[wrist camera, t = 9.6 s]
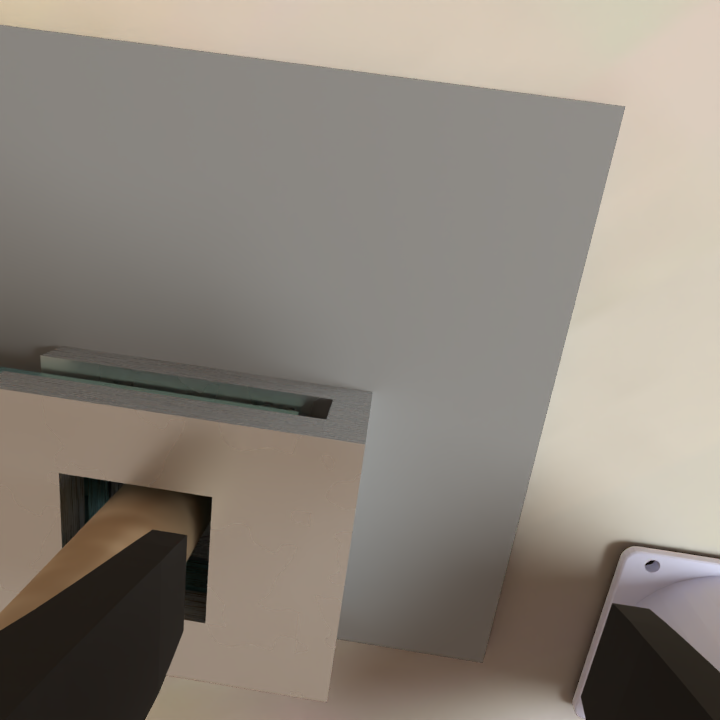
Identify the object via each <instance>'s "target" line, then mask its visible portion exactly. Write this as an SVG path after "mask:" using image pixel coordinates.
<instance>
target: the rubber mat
mask: <svg viewBox="0 0 720 720" xmlns="http://www.w3.org/2000/svg"><path fill="white" fill-rule="evenodd" d="M624 110H625V106H618V105H610V104H603V103H595V102H587V101H580V100H572V99H564V98H557V97H549V96H541V95H534V94H526V93H518V92H511V91H503V90H495V89H488V88H480V87H472V86H465V85H457V84H449V83H442V82H434V81H426V80H418V79H411V78H403V77H395V76H388V75H380V74H372V73H365V72H357V71H349V70H342V69H334V68H326V67H319V66H311V65H303V64H296V63H288V62H280V61H273V60H265V59H257V58H250V57H242V56H234V55H227V54H219V53H211V52H204V51H196V50H188V49H181V48H173V47H165V46H158V45H150V44H142V43H135V42H127V41H119V40H111V39H104V38H96V37H88V36H81V35H73V34H65V33H58V32H50V31H42V30H35V29H27V28H19V27H12V26H4V25H0V367H6V368H13V369H19V370H26V371H33V372H39V373H41V358H40V355H43V354H45V353H47V352H50V351H52V350H54V349H57V348H59V347H61V346H68V347H75V348H82V349H89V350H95V351H102V352H109V353H115V354H122V355H129V356H135V357H142V358H149V359H156V360H162V361H169V362H176V363H182V364H189V365H196V366H202V367H209V368H216V369H223V370H229V371H236V372H243V373H249V374H256V375H263V376H269V377H276V378H283V379H290V380H296V381H303V382H310V383H316V384H323V385H330V386H336V387H343V388H350V389H357V390H363V391H370V392H373V394H372V401H371V408H370V415H369V422H368V429H367V436H366V443H365V450H364V457H363V464H362V470H361V477H360V484H359V491H358V497H357V504H356V511H355V518H354V524H353V531H352V538H351V545H350V551H349V558H348V565H347V572H346V578H345V585H344V592H343V599H342V605H341V612H340V619H339V626H338V632H337V639H340V640H346V641H352V642H358V643H364V644H370V645H377V646H383V647H389V648H395V649H401V650H407V651H413V652H419V653H425V654H431V655H437V656H444V657H450V658H456V659H462V660H468V661H474V662H480V663H483V659H484V655H485V652H486V648H487V644H488V640H489V636H490V632H491V628H492V624H493V620H494V616H495V613H496V609H497V605H498V601H499V597H500V593H501V589H502V585H503V581H504V577H505V574H506V570H507V566H508V562H509V558H510V554H511V550H512V546H513V542H514V538H515V535H516V531H517V527H518V523H519V519H520V515H521V511H522V507H523V503H524V499H525V496H526V492H527V488H528V484H529V480H530V476H531V472H532V468H533V464H534V461H535V457H536V453H537V449H538V445H539V441H540V437H541V433H542V429H543V425H544V422H545V418H546V414H547V410H548V406H549V402H550V398H551V394H552V390H553V386H554V383H555V379H556V375H557V371H558V367H559V363H560V359H561V355H562V351H563V347H564V344H565V340H566V336H567V332H568V328H569V324H570V320H571V316H572V312H573V309H574V305H575V301H576V297H577V293H578V289H579V285H580V281H581V277H582V273H583V270H584V266H585V262H586V258H587V254H588V250H589V246H590V242H591V238H592V234H593V231H594V227H595V223H596V219H597V215H598V211H599V207H600V203H601V199H602V195H603V192H604V188H605V184H606V180H607V176H608V172H609V168H610V164H611V160H612V157H613V153H614V149H615V145H616V141H617V137H618V133H619V129H620V125H621V121H622V118H623V114H624ZM210 529H211V521H210V523H209V524H208V526H207V528H206V529H205V531H204V533H203V535H204V536H210Z"/></svg>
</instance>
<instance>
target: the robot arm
mask: <svg viewBox="0 0 720 720" xmlns="http://www.w3.org/2000/svg"><path fill="white" fill-rule="evenodd" d="M186 556H187V535H184V534H177V533H171V532H165V531H159V530H151V531H150V532H148V533H147V534H145V535H144V536H142V537H141V538H139V539H138V540H136V541H135V542H133V543H132V544H130V545H129V546H127V547H126V548H124V549H123V550H122V551H120V552H119V553H117V554H116V555H114V556H113V557H111V558H110V559H108V560H107V561H106V562H104V563H103V564H101V565H100V566H98V567H97V568H95V569H94V570H92V571H91V572H90V573H88V574H87V575H85V576H84V577H82V578H81V579H79V580H78V581H76V582H75V583H73V584H72V585H70V586H69V587H67V588H66V589H64V590H63V591H61V592H60V593H58V594H57V595H55V596H54V597H52V598H51V599H49V600H48V601H46V602H45V603H43V604H42V605H40V606H39V607H37V608H36V609H34V610H33V611H31V612H29V613H28V614H26V615H25V616H23V617H21V618H20V619H18V620H16V621H15V622H13V623H12V624H10V625H8V626H7V627H5V628H3V629H2V630H0V720H145V718H146V716H147V715H148V713H149V711H150V709H151V707H152V705H153V703H154V701H155V699H156V697H157V695H158V693H159V691H160V689H161V686H162V684H163V681H164V679H165V676H166V674H167V672H168V669H169V667H170V664H171V662H172V659H173V657H174V654H175V652H176V649H177V647H178V644H179V641H180V639H181V636H182V634H183V631H184V607H185V582H186ZM650 560H655V561H654V562H653V563H652V564H650V565H645V564H646V563H647V562H648V561H650ZM572 705H573V708H574V711H575V713H576V715H577V716H579V717H580V718H583V719H586V720H720V559H717V558H710V557H704V556H697V555H691V554H685V553H678V552H672V551H665V550H659V549H652V548H646V547H640V546H632V547H629V548H627V549H626V550H624V551H623V552H622V554H621V556H620V559H619V562H618V565H617V568H616V571H615V574H614V577H613V580H612V583H611V586H610V589H609V592H608V595H607V598H606V601H605V604H604V607H603V610H602V613H601V616H600V619H599V622H598V625H597V628H596V631H595V634H594V637H593V640H592V643H591V646H590V649H589V652H588V655H587V658H586V661H585V665H584V668H583V671H582V674H581V677H580V680H579V683H578V686H577V689H576V692H575V695H574V698H573V701H572Z"/></svg>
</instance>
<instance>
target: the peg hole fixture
mask: <svg viewBox="0 0 720 720" xmlns="http://www.w3.org/2000/svg"><path fill="white" fill-rule="evenodd" d="M40 358H41V373H39V372H33V371H26V370H19V369H13V368H6V367H0V612H1V611H2V610H3V609H4V608H5V607H6V606H7V605H8V604H9V603H10V602H11V601H12V600H13V599H14V598H15V597H16V596H17V595H18V594H19V593H20V592H21V591H22V590H23V589H24V588H25V587H26V585H27V584H28V583H29V582H30V581H31V580H32V579H33V578H34V577H35V576H36V575H37V574H38V573H39V572H40V571H41V570H42V569H43V568H44V567H45V566H46V565H47V564H48V563H49V562H50V561H51V560H52V558H53V557H54V556H55V555H56V554H57V553H58V552H59V551H60V550H61V549H62V548H63V547H64V546H65V545H66V544H67V543H68V542H69V541H70V540H71V539H72V538H73V537H74V536H75V535H76V534H77V533H78V532H79V530H80V529H81V528H82V527H83V526H84V525H85V524H86V523H87V522H88V521H89V520H90V519H91V518H92V517H93V516H94V515H95V514H96V513H97V512H98V511H99V510H100V509H101V508H102V507H103V506H104V505H105V504H106V502H107V501H108V500H109V499H110V498H111V497H112V496H113V495H114V494H115V493H116V492H117V491H118V490H119V489H120V488H121V487H122V486H123V485H124V484H132V485H138V486H145V487H151V488H157V489H164V490H170V491H176V492H183V493H189V494H195V495H202V496H208V497H212V510H211V529H210V536H204V535H202V536H201V538H200V540H199V541H198V543H197V545H196V546H195V548H194V550H193V552H192V553H191V555H190V557H189V558H188V560H187V562H186V582H185V607H184V631H183V634H182V636H181V639H180V641H179V644H178V647H177V649H176V652H175V654H174V657H173V659H172V662H171V664H170V667H169V669H168V672H167V674H166V675H167V676H173V677H179V678H185V679H191V680H197V681H203V682H209V683H215V684H220V685H226V686H232V687H238V688H244V689H250V690H256V691H262V692H268V693H274V694H280V695H286V696H292V697H298V698H304V699H310V700H316V701H322V702H327V700H328V693H329V686H330V680H331V673H332V666H333V659H334V653H335V646H336V639H337V632H338V626H339V619H340V612H341V605H342V599H343V592H344V585H345V578H346V572H347V565H348V558H349V551H350V545H351V538H352V531H353V524H354V518H355V511H356V504H357V497H358V491H359V484H360V477H361V470H362V464H363V457H364V450H365V443H366V436H367V429H368V422H369V415H370V408H371V401H372V394H373V392H370V391H363V390H357V389H350V388H343V387H336V386H330V385H323V384H316V383H310V382H303V381H296V380H290V379H283V378H276V377H269V376H263V375H256V374H249V373H243V372H236V371H229V370H223V369H216V368H209V367H202V366H196V365H189V364H182V363H176V362H169V361H162V360H156V359H149V358H142V357H135V356H129V355H122V354H115V353H109V352H102V351H95V350H89V349H82V348H75V347H68V346H61V347H59V348H57V349H54V350H52V351H50V352H47V353H45V354H43V355H40Z"/></svg>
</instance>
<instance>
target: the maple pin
mask: <svg viewBox="0 0 720 720" xmlns="http://www.w3.org/2000/svg"><path fill="white" fill-rule="evenodd" d="M211 510H212V497H208V496H202V495H195V494H189V493H183V492H176V491H170V490H164V489H157V488H151V487H145V486H138V485H132V484H124V485H123V486H122V487H121V488H120V489H119V490H118V491H117V492H116V493H115V494H114V495H113V496H112V497H111V498H110V499H109V500H108V501H107V502H106V504H105V505H104V506H103V507H102V508H101V509H100V510H99V511H98V512H97V513H96V514H95V515H94V516H93V517H92V518H91V519H90V520H89V521H88V522H87V523H86V524H85V525H84V526H83V527H82V528H81V529H80V530H79V532H78V533H77V534H76V535H75V536H74V537H73V538H72V539H71V540H70V541H69V542H68V543H67V544H66V545H65V546H64V547H63V548H62V549H61V550H60V551H59V552H58V553H57V554H56V555H55V556H54V557H53V558H52V560H51V561H50V562H49V563H48V564H47V565H46V566H45V567H44V568H43V569H42V570H41V571H40V572H39V573H38V574H37V575H36V576H35V577H34V578H33V579H32V580H31V581H30V582H29V583H28V584H27V585H26V587H25V588H24V589H23V590H22V591H21V592H20V593H19V594H18V595H17V596H16V597H15V598H14V599H13V600H12V601H11V602H10V603H9V604H8V605H7V606H6V607H5V608H4V609H3V610H2V611H1V612H0V630H2V629H3V628H5V627H7V626H8V625H10V624H12V623H13V622H15V621H16V620H18V619H20V618H21V617H23V616H25V615H26V614H28V613H29V612H31V611H33V610H34V609H36V608H37V607H39V606H40V605H42V604H43V603H45V602H46V601H48V600H49V599H51V598H52V597H54V596H55V595H57V594H58V593H60V592H61V591H63V590H64V589H66V588H67V587H69V586H70V585H72V584H73V583H75V582H76V581H78V580H79V579H81V578H82V577H84V576H85V575H87V574H88V573H90V572H91V571H92V570H94V569H95V568H97V567H98V566H100V565H101V564H103V563H104V562H106V561H107V560H108V559H110V558H111V557H113V556H114V555H116V554H117V553H119V552H120V551H122V550H123V549H124V548H126V547H127V546H129V545H130V544H132V543H133V542H135V541H136V540H138V539H139V538H141V537H142V536H144V535H145V534H147V533H148V532H150V531H151V530H159V531H165V532H171V533H177V534H184V535H187V556H186V562H187V560H188V558H189V557H190V555H191V553H192V552H193V550H194V548H195V546H196V545H197V543H198V541H199V540H200V538H201V536H202V535H203V533H204V531H205V529H206V528H207V526H208V524H209V523H210V521H211Z"/></svg>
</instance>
